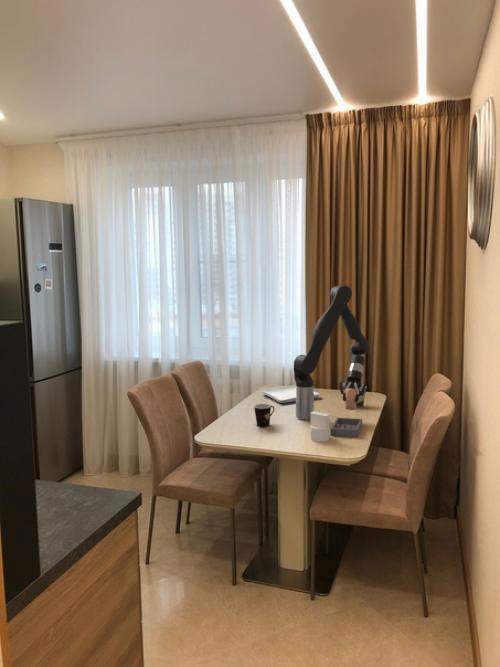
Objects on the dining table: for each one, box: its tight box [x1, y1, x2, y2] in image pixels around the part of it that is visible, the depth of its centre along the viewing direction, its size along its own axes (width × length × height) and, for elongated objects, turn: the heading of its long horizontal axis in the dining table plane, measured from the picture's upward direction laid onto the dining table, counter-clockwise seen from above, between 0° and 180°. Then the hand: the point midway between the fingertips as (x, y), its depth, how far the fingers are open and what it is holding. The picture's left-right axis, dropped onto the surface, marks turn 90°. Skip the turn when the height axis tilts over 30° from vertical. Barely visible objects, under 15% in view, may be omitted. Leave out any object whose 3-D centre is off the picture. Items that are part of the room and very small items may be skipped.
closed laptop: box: [260, 384, 321, 404], centre depth 333 cm, size 27×27×4 cm
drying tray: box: [330, 416, 363, 438], centre depth 266 cm, size 18×13×5 cm
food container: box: [356, 387, 367, 408], centre depth 309 cm, size 12×6×10 cm, turn 84°
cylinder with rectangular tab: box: [309, 411, 331, 443], centre depth 256 cm, size 9×9×12 cm
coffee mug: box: [253, 403, 275, 428], centre depth 279 cm, size 12×9×10 cm
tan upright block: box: [344, 388, 357, 411], centre depth 279 cm, size 5×5×10 cm
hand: (350, 401), depth 278 cm, fingers closed on tan upright block, 5 cm apart
